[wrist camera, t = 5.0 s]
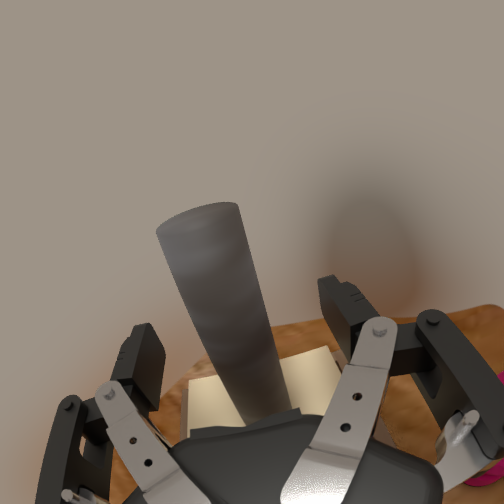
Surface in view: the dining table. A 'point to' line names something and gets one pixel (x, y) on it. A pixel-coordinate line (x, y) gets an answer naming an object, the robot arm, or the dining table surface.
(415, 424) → the dining table surface
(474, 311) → the dining table surface
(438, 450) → the robot arm
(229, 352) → the joystick
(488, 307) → the dining table surface
